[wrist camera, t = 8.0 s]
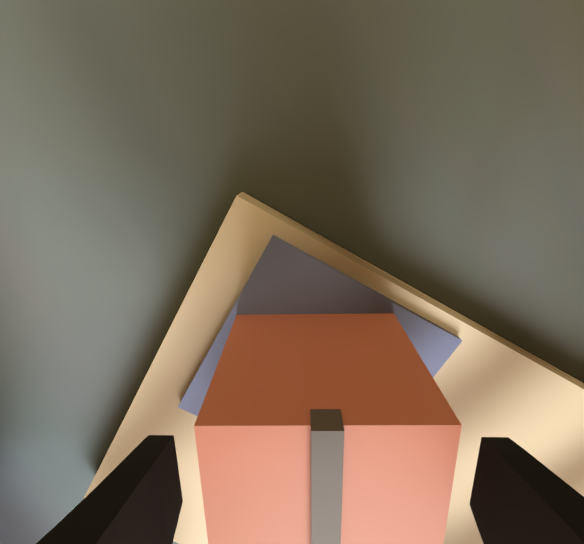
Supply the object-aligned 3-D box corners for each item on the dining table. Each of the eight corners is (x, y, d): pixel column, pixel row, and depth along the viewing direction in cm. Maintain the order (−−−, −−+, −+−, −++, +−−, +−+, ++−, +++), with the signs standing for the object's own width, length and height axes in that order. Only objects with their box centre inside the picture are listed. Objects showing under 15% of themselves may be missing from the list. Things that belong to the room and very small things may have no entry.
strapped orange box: (384, 442, 13) (437, 617, 8) (245, 442, 13) (214, 615, 8) (394, 311, 11) (466, 430, 7) (236, 313, 12) (190, 431, 7)
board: (666, 429, 14) (789, 520, 11) (452, 625, 18) (490, 741, 15) (242, 191, 12) (218, 207, 8) (96, 478, 16) (36, 575, 12)
